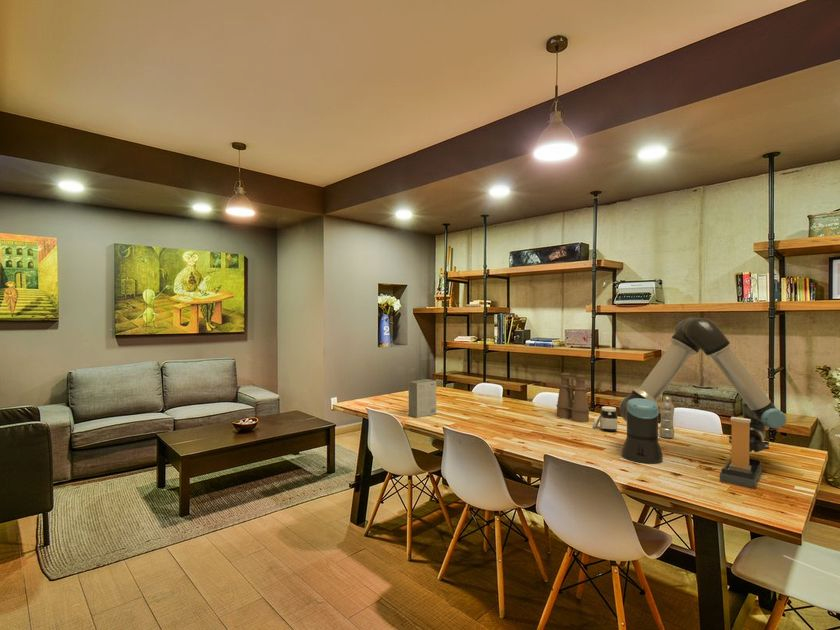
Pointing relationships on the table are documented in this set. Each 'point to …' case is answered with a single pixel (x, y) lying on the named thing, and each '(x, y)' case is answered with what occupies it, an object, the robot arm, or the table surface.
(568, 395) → the binoculars
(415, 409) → the hard drive box
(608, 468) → the table surface
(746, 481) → the dark grey stand
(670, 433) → the plastic bottle
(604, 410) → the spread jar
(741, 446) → the tan upright block
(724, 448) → the table surface
